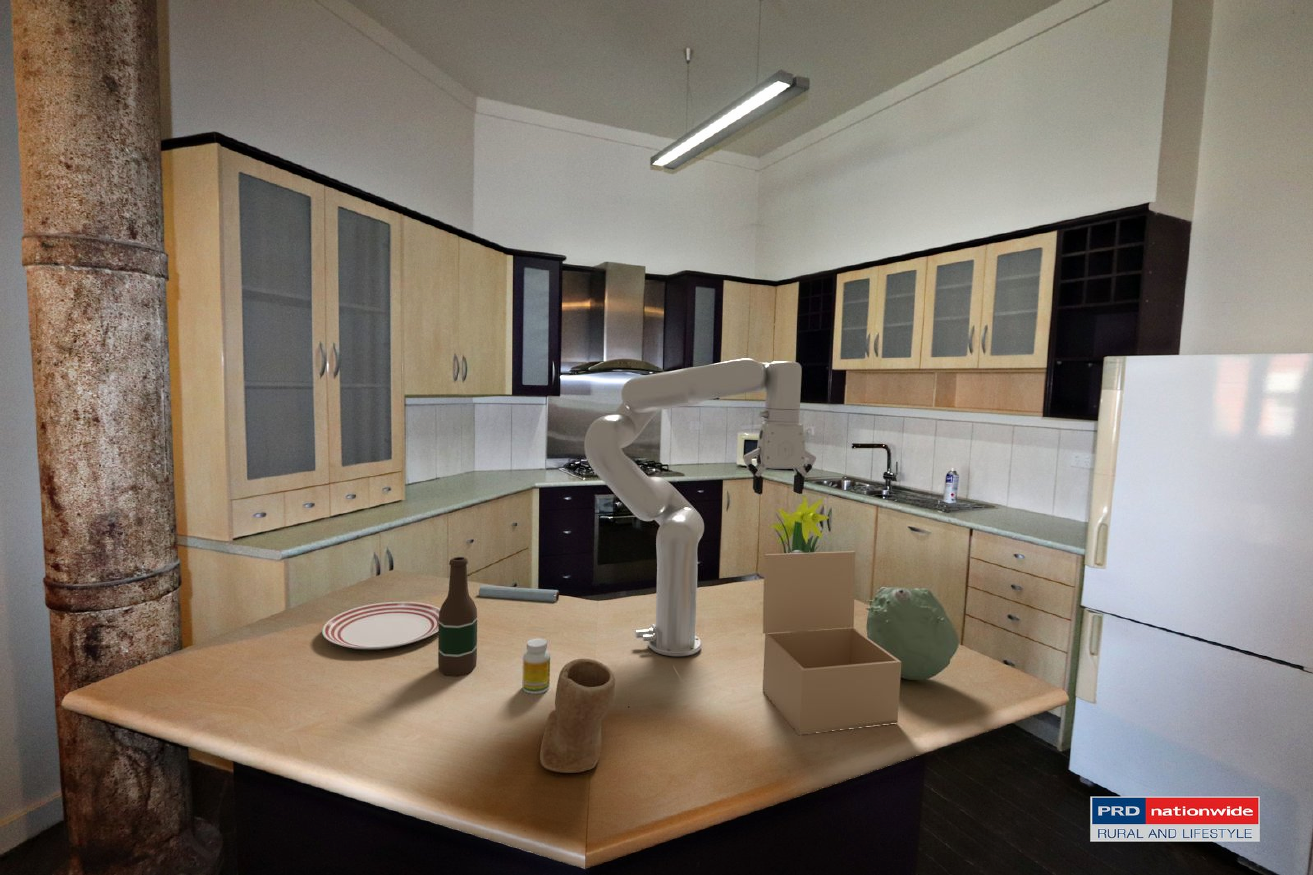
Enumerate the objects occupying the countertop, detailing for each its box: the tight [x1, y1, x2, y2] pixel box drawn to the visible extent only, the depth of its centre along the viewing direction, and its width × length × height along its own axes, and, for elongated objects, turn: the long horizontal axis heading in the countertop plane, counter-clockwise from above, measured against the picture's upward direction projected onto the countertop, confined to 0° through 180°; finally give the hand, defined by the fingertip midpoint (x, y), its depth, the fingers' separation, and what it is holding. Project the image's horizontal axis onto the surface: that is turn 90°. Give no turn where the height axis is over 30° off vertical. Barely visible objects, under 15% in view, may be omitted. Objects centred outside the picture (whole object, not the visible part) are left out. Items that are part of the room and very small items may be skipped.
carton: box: [762, 627, 902, 736], centre depth 115 cm, size 20×16×12 cm
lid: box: [762, 550, 856, 635], centre depth 126 cm, size 20×16×8 cm
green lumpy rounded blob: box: [865, 586, 960, 681], centre depth 129 cm, size 16×19×20 cm
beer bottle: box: [437, 556, 478, 678], centre depth 125 cm, size 8×8×24 cm
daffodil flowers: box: [769, 495, 830, 554], centre depth 159 cm, size 17×15×35 cm
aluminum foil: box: [478, 584, 560, 603], centre depth 168 cm, size 23×7×3 cm, turn 85°
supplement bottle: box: [521, 637, 551, 695], centre depth 119 cm, size 5×5×10 cm
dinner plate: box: [321, 601, 441, 650], centre depth 143 cm, size 28×27×3 cm
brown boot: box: [539, 658, 616, 774], centre depth 99 cm, size 15×12×15 cm
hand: (778, 493), depth 134 cm, fingers open, 9 cm apart
